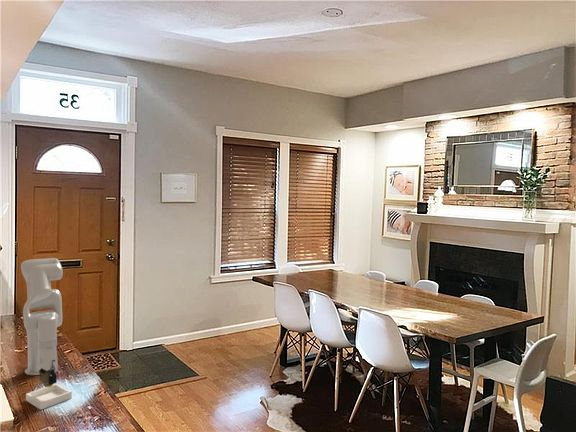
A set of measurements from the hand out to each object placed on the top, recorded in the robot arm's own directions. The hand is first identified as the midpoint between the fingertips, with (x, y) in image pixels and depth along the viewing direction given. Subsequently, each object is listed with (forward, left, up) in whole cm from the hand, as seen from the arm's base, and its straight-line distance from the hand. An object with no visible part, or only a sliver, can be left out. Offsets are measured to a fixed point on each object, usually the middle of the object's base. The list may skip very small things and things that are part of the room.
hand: (48, 381), depth 211 cm
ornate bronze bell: (0, 0, -3) cm, 3 cm away
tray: (0, 0, -9) cm, 9 cm away
